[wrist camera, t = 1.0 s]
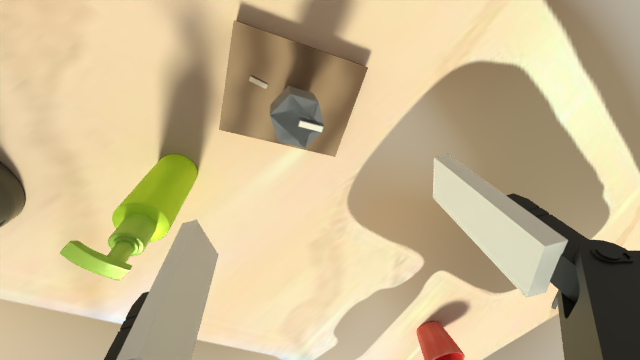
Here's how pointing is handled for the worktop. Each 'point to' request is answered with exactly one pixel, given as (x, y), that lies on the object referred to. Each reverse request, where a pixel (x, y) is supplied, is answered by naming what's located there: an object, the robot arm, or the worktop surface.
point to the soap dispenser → (140, 217)
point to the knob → (296, 117)
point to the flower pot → (437, 343)
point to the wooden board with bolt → (285, 85)
